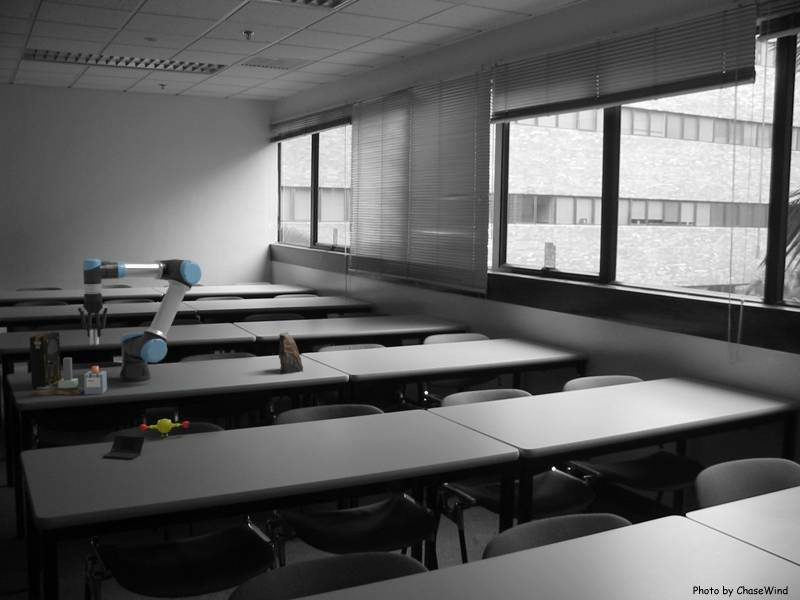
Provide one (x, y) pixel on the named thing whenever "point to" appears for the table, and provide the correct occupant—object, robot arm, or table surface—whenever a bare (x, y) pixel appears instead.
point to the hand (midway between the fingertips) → (94, 344)
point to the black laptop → (125, 448)
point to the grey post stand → (67, 375)
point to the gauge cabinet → (95, 382)
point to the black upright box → (45, 359)
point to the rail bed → (56, 390)
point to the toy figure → (164, 426)
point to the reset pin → (95, 370)
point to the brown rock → (289, 355)
